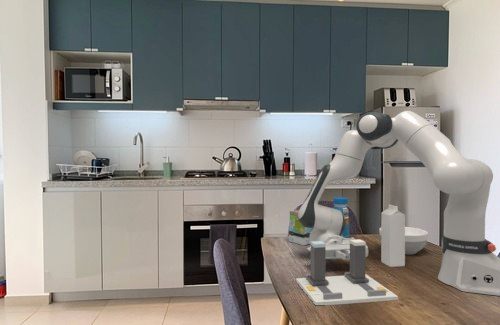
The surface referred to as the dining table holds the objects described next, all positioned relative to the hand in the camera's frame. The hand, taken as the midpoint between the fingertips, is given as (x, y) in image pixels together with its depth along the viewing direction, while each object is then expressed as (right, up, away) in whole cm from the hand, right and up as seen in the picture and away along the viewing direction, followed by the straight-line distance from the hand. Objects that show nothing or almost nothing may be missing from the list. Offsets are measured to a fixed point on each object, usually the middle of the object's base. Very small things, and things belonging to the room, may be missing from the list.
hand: (348, 257), depth 111 cm
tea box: (-6, -6, +48) cm, 48 cm away
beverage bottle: (+12, -6, +53) cm, 55 cm away
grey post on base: (+1, -5, -6) cm, 8 cm away
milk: (+20, -6, +13) cm, 25 cm away
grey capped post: (-12, -5, -8) cm, 15 cm away
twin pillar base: (-5, -7, -11) cm, 14 cm away
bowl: (+32, -6, +31) cm, 45 cm away
